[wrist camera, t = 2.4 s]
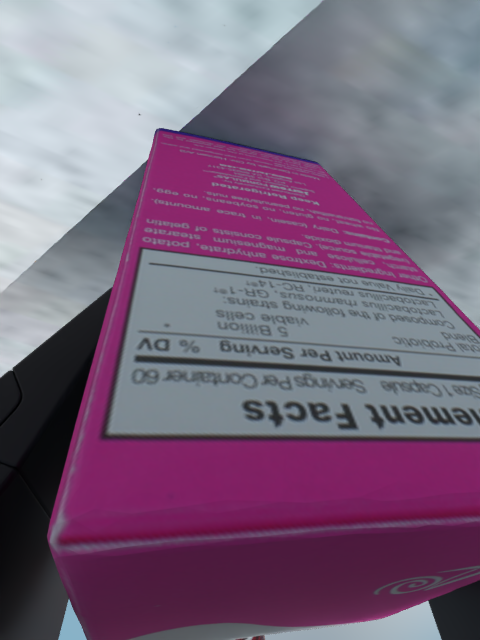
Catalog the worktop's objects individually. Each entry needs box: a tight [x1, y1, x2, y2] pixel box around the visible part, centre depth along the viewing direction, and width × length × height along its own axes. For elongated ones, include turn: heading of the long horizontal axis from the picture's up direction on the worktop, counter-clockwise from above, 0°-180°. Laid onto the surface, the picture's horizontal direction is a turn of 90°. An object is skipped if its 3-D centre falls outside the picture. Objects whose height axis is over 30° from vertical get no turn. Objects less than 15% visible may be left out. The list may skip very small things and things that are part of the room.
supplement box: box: [47, 128, 480, 640], centre depth 9 cm, size 6×6×12 cm
